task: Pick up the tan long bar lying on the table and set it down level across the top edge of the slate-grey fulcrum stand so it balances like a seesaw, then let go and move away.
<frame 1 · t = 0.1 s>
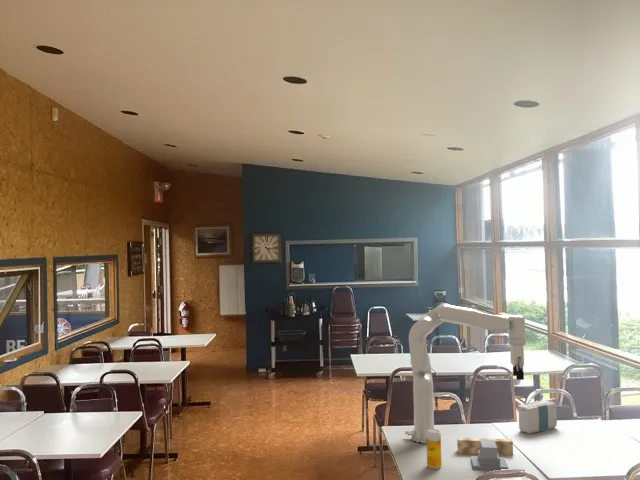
hand: (518, 377, 267), 31 cm above the table, tool pointing down, fingers open, 9 cm apart
stereo radio cassette player: (537, 430, 286), on the table
tan long bar: (484, 453, 254), on the table
fulcrum stand: (489, 465, 238), on the table
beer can: (434, 467, 237), on the table
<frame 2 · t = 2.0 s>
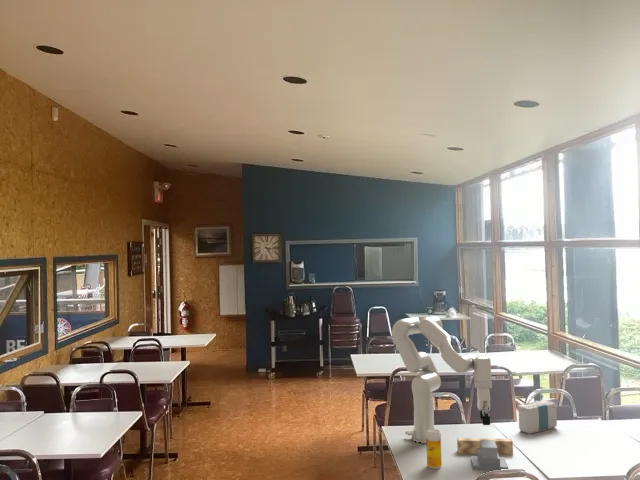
hand: (485, 422, 254), 14 cm above the table, tool pointing down, fingers open, 9 cm apart
nothing on the table moved.
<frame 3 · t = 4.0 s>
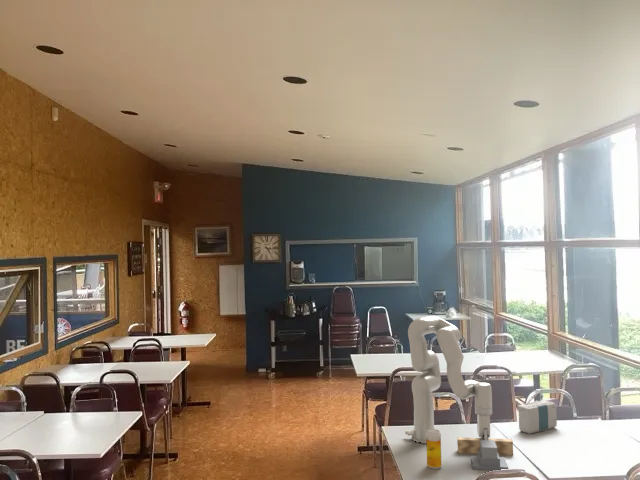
hand: (484, 450, 254), 1 cm above the table, tool pointing down, fingers closed on tan long bar, 3 cm apart
tan long bar: (485, 452, 254), on the table, touching gripper
everything else where it was.
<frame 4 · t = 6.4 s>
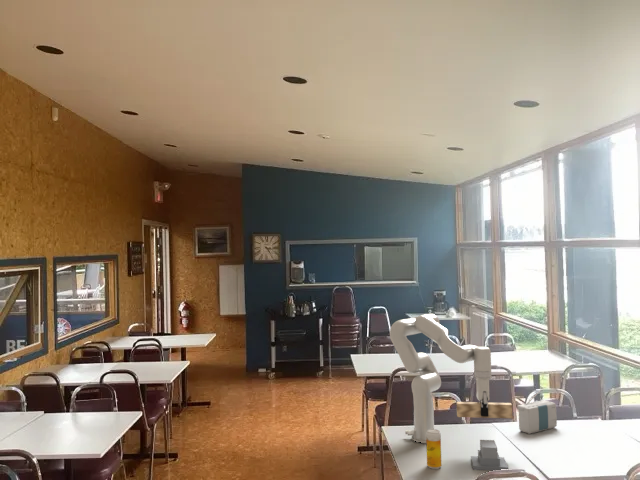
hand: (484, 414, 254), 17 cm above the table, tool pointing down, fingers closed on tan long bar, 3 cm apart
tan long bar: (484, 416, 254), point 16 cm above the table, touching gripper
everything else where it was.
when the fingers open (10 cm above the table, at t = 9.2 s): tan long bar stays where it is, resting on fulcrum stand.
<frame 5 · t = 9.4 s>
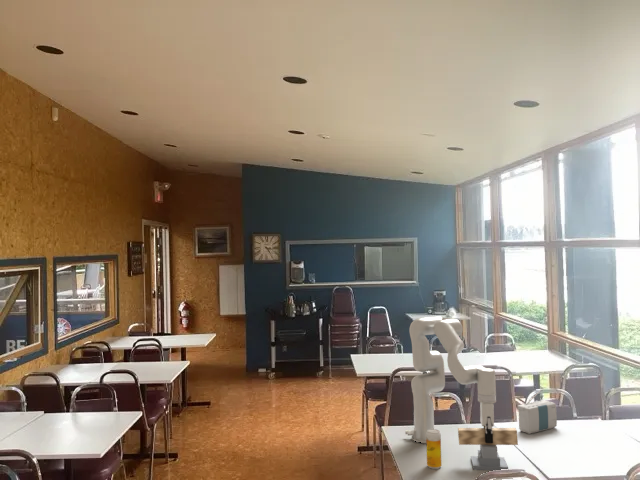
hand: (488, 440, 239), 10 cm above the table, tool pointing down, fingers open, 5 cm apart
tan long bar: (487, 443, 239), point 9 cm above the table, touching fulcrum stand
everything else where it was.
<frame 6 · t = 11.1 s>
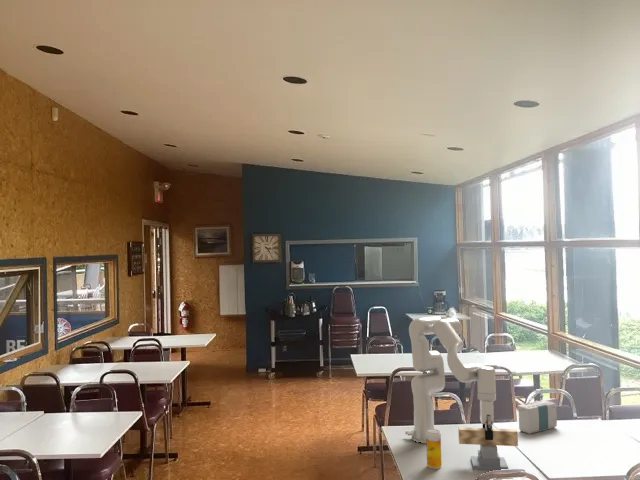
hand: (487, 436, 239), 12 cm above the table, tool pointing down, fingers open, 9 cm apart
nothing on the table moved.
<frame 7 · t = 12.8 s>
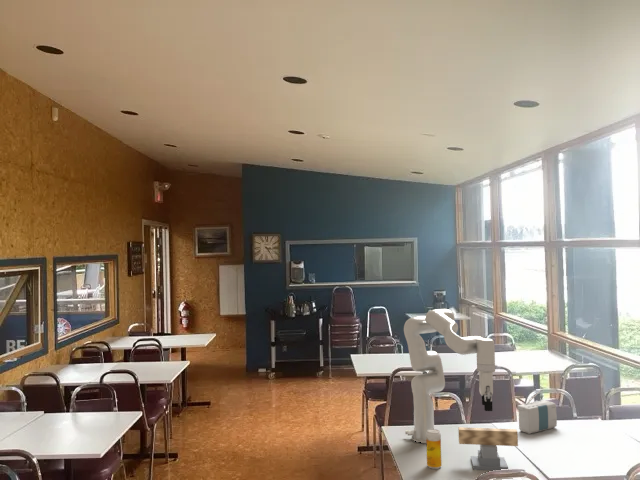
hand: (487, 407, 239), 24 cm above the table, tool pointing down, fingers open, 9 cm apart
nothing on the table moved.
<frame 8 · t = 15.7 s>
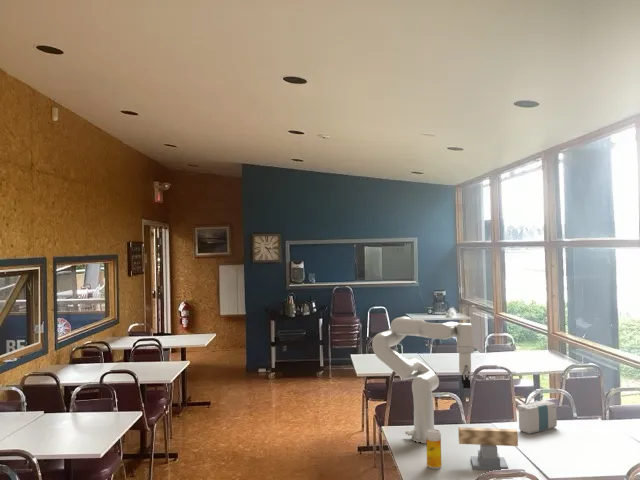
hand: (466, 385, 263), 28 cm above the table, tool pointing down, fingers open, 9 cm apart
nothing on the table moved.
at the end: tan long bar touching fulcrum stand; tan long bar point 9.0 cm above the table; tan long bar tilted 0° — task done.
